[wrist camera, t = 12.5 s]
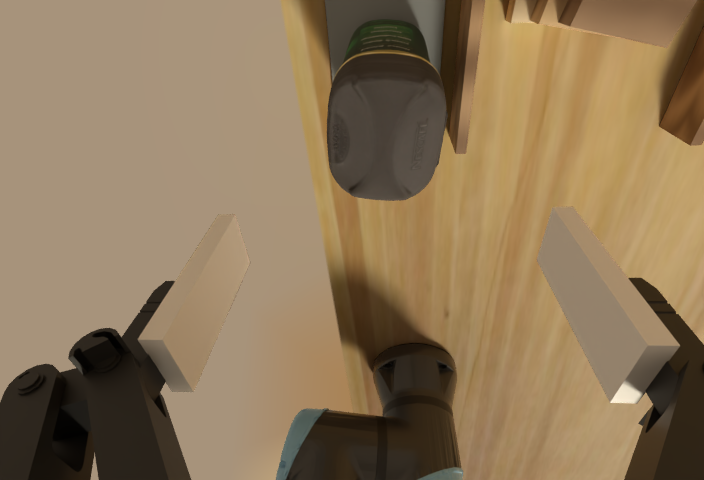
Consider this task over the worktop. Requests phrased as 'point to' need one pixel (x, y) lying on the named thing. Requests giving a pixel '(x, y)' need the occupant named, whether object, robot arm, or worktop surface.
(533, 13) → the offcut middle
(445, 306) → the worktop surface
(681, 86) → the wooden open enclosure
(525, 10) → the offcut bottom
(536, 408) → the worktop surface
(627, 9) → the offcut top
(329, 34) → the mat
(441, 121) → the coffee jar
